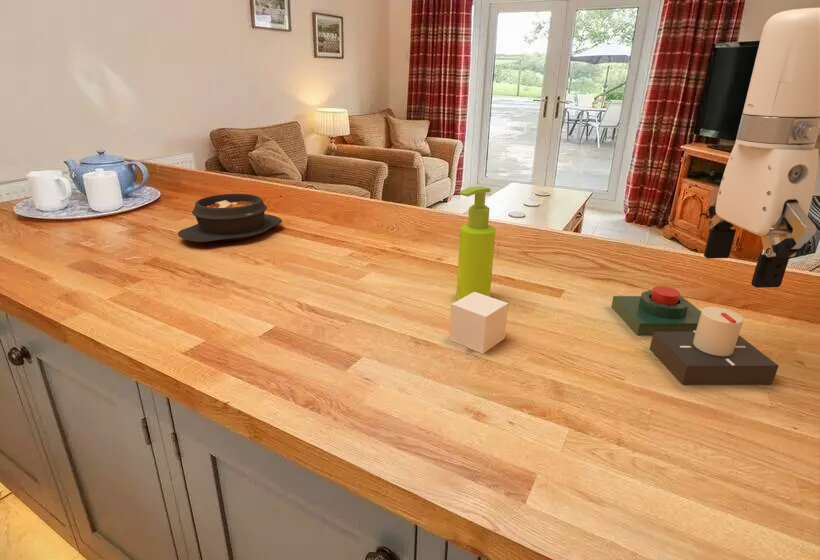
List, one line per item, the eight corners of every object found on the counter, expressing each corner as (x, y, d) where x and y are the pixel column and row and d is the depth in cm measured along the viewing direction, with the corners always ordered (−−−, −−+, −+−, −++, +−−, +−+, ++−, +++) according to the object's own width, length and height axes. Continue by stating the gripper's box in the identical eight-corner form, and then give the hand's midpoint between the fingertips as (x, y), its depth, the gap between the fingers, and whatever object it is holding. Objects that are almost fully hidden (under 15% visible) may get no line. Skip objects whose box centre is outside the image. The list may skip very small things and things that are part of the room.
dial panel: (729, 349, 72) (735, 330, 71) (772, 385, 64) (779, 364, 63) (649, 349, 72) (653, 330, 71) (681, 385, 64) (687, 364, 63)
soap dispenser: (445, 298, 87) (450, 187, 79) (473, 289, 91) (480, 182, 83) (468, 310, 83) (475, 193, 75) (496, 300, 87) (506, 188, 79)
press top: (669, 295, 81) (672, 286, 80) (682, 306, 77) (685, 296, 77) (646, 295, 81) (648, 286, 80) (657, 306, 77) (660, 296, 77)
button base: (679, 307, 85) (684, 286, 84) (713, 335, 76) (719, 312, 75) (611, 307, 85) (615, 286, 83) (636, 335, 76) (642, 312, 74)
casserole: (204, 256, 105) (198, 218, 102) (164, 237, 116) (158, 203, 113) (298, 230, 123) (296, 197, 120) (256, 217, 134) (252, 186, 131)
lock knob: (685, 338, 69) (694, 304, 67) (718, 338, 69) (729, 304, 67) (705, 356, 65) (716, 321, 63) (741, 356, 65) (752, 320, 63)
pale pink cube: (449, 340, 74) (451, 303, 72) (471, 326, 78) (474, 291, 76) (482, 354, 70) (486, 316, 68) (504, 338, 74) (508, 302, 72)
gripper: (877, 141, 48) (821, 299, 55) (757, 124, 64) (725, 248, 71) (802, 142, 48) (755, 300, 55) (701, 124, 64) (674, 249, 71)
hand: (738, 271), depth 63 cm, fingers open, 9 cm apart
